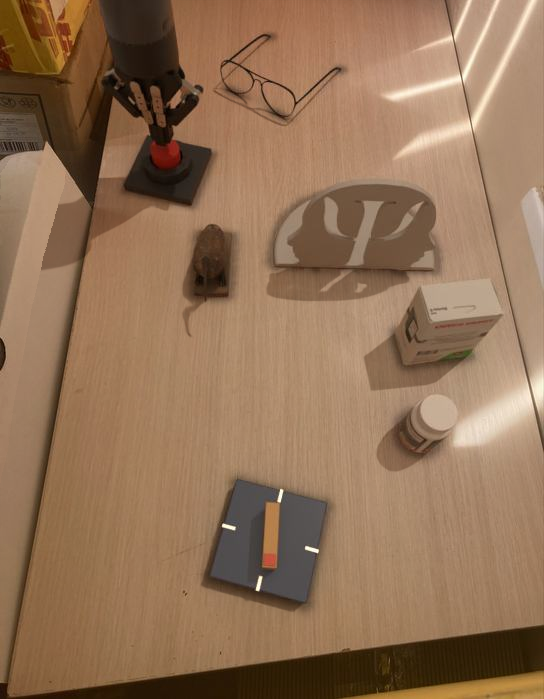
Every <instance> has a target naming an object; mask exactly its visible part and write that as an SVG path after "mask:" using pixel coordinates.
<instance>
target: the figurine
mask: <svg viewBox="0 0 544 699" xmlns="http://www.w3.org/2000/svg"><path fill="white" fill-rule="evenodd" d="M231 250H232V232H229V231H228V232H226V231H225V232H224V230H222V228H221V226H220V225H218V224H215V223H209V224H207V225H206V226H205V227H204V229H203V230H199V231H198V239H197V241H196V243H195V246H194V249H193V254H192V266H193V271H194V272H195V275H194V281H193V284H194V287H193V294H194V296H203V297H204V302H207V296H210V297H213V296H216V297H219V296H221V297H229V291H230V290H229V288H230V271H231V255H232V254H231Z"/></svg>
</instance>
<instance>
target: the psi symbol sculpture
mask: <svg viewBox="0 0 544 699" xmlns="http://www.w3.org/2000/svg"><path fill="white" fill-rule="evenodd" d="M418 204H421V205H420V206H419V207H418V208H417V211H416V213H415V215H414V217H413V216H412V215H411V214H410V213H409V211H411V209H412V208H413V207H415V206H416V205H418ZM436 221H437V208H436V202H435V200H434V198H433V196H432V195H431V194H430V193H429V192H428V190H426V189H425V188H423V187H422V186H420V185H418V184H415V183H412V182H409V181H405V180H400V179H392V178H391V179H389V178H378V177H377V178H356V179H349V180H345V181H341V182H338V183H335V184H332V185H329V186H328V187H326V188H325V189H323V190H322V191H320V192H318V193H317V194H316V195H314V196H313V197H312V198H310V199H308V200H307V201H305V202H304V203H302V204H300V205H299V206H297V207H296V208H295V209H294V210H293V211H292V212H290V213H289V215H288V216H287V217H286V218H285V219H284V221H283V222H282V224H281V226H280V228H279V229H278V231H277V235H276V237H275V241H274V244H273V245H274V247H273V263H274V267H289V268H291V267H292V268H293V267H295V268H297V267H298V268H331V269H366V270H368V269H370V270H396V271H409V270H410V271H411V270H412V271H434V270H435V257H434V250H435V248H436V243H435V241H434V239H433V238H432V236H431V234H430V232H431V231H432V230H433V229H434V228H435V225H436V223H437V222H436Z"/></svg>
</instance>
